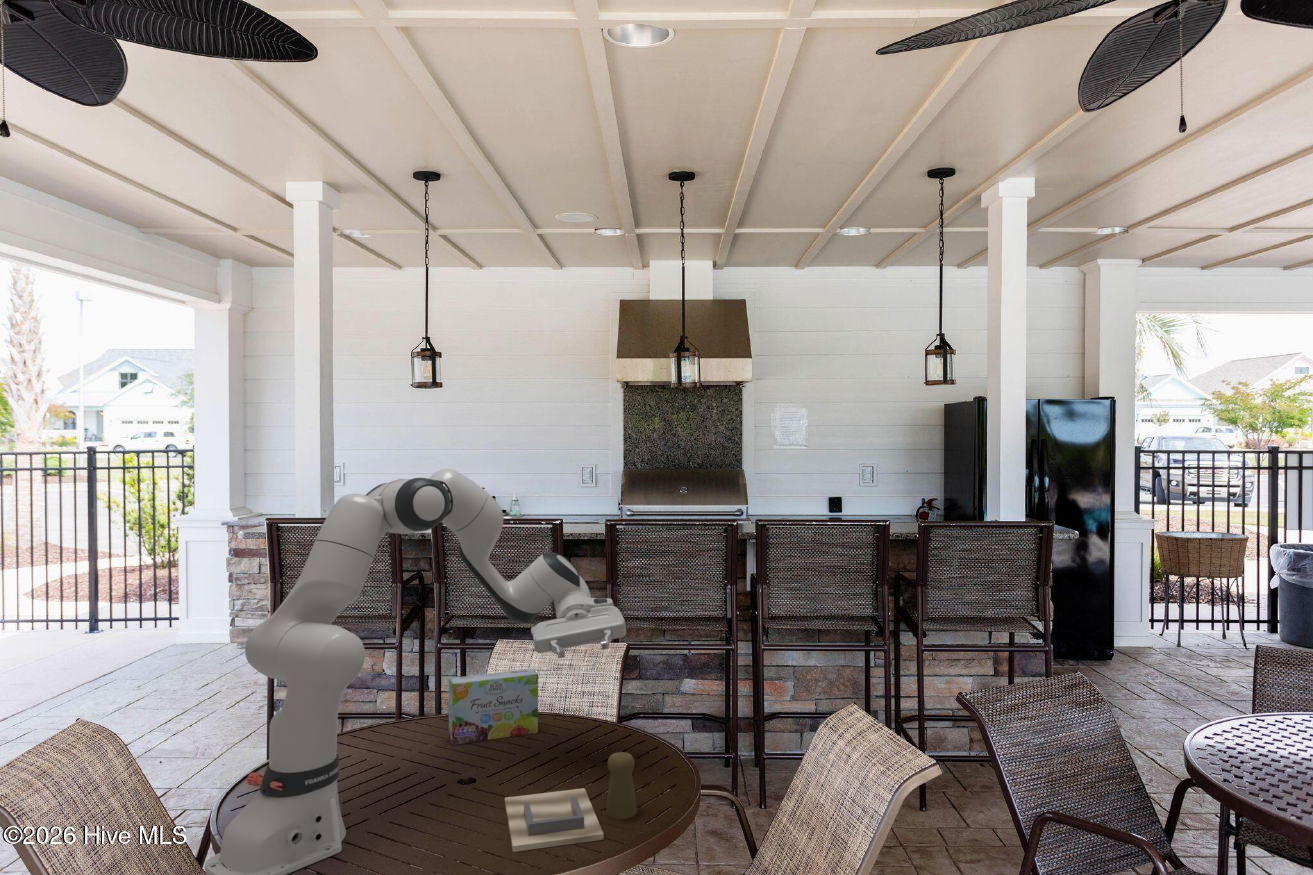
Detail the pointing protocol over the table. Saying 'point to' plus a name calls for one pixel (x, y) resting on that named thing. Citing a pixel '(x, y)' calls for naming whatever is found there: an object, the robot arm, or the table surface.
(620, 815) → the olive pawn
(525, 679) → the snack box
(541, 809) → the board
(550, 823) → the frame
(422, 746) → the table surface
